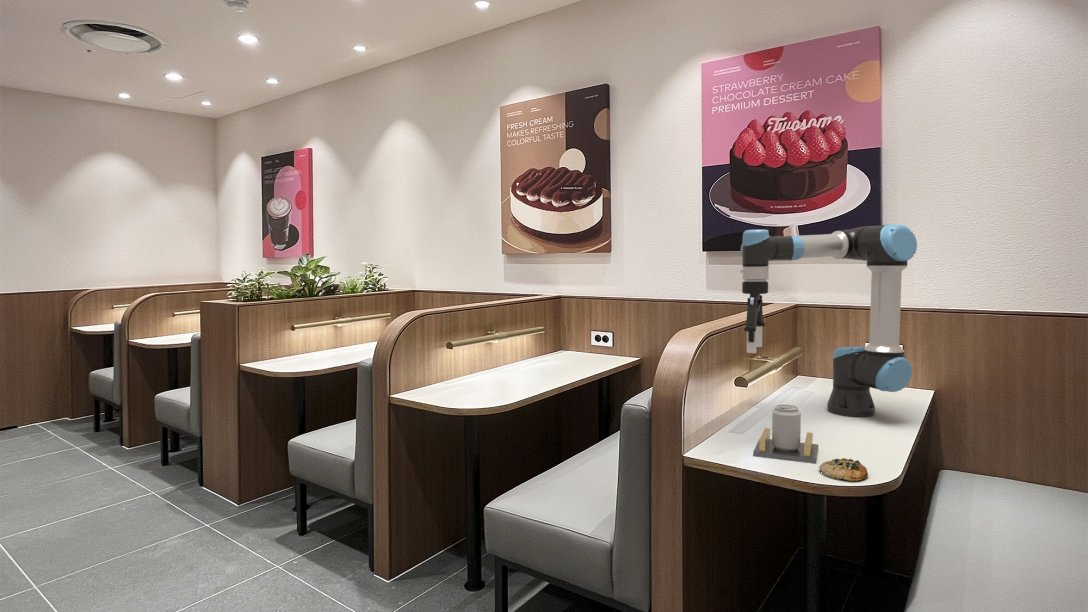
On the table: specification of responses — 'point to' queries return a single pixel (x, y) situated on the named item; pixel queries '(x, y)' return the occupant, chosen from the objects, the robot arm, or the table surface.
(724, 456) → the table surface
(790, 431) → the can
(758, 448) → the holder plate
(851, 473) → the bread roll
